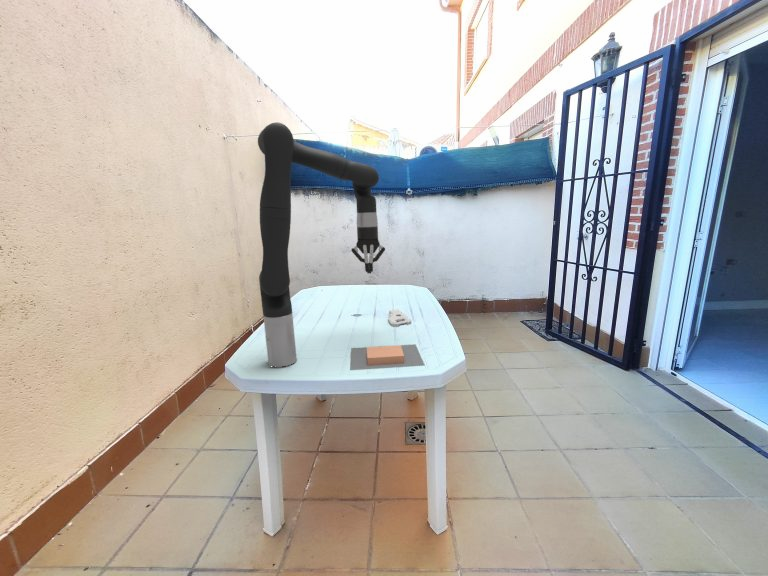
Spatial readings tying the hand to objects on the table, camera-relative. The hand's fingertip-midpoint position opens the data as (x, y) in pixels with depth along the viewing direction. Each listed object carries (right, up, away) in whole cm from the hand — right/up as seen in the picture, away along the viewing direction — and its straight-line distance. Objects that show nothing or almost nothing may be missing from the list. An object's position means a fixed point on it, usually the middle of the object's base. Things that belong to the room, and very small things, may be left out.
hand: (369, 272), depth 127 cm
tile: (+5, -27, -7) cm, 29 cm away
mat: (+6, -29, -9) cm, 31 cm away
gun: (+12, -21, +31) cm, 39 cm away
